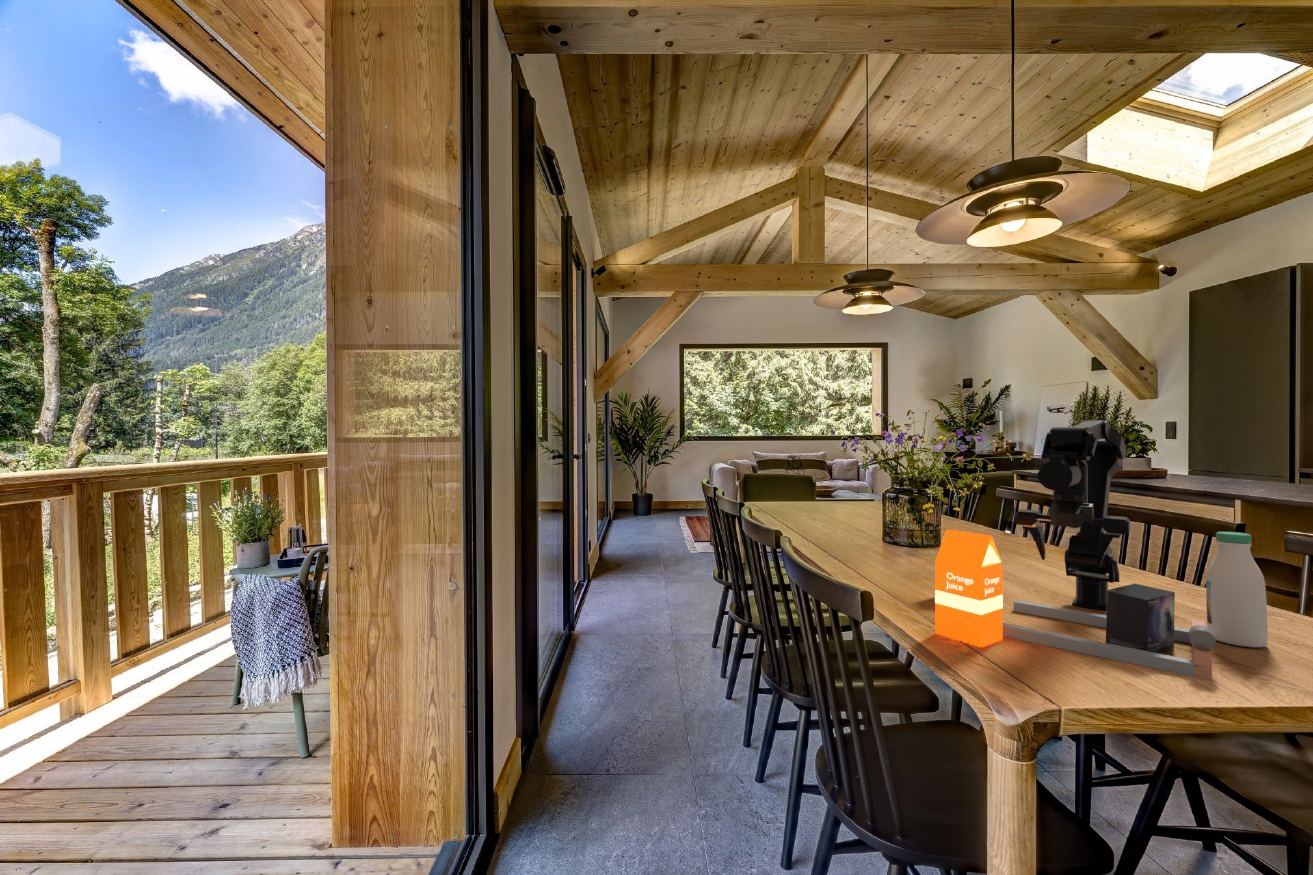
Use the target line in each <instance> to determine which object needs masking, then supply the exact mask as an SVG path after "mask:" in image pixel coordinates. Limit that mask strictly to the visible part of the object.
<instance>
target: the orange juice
mask: <svg viewBox="0 0 1313 875" xmlns="http://www.w3.org/2000/svg"><path fill="white" fill-rule="evenodd" d="M943 536H944V538H943V537H942V539H943V541H942V540H941V541H942V543H941V544H940V547H939V550H938V552H937V555H936V557H935V558H934V574H935V575H934V576H935V577H934V578H935V579H934V581H935V582H934V584H935V585H934V587H935V590H934V603H935V604H934V605H935V606H934V608H935V609H934V610H935V614H934V615H935V619H934V620H935V623H934V624H935V626H934V627H935V635H938V634H939V635H938V636H942V637H944V636H945V638H948V639H952V640H955V641H958V642H960V641H962V642H961V643H965V644H967V643H969V644H968V645H970V646H973V645H975V646H974V647H976V646H978V647H977V648H980V647H983V648H985V647H987V645H988V646H991V645H992V644H996V643H998V642H1001V641H1003V638H1004V636H1003V623H1004V622H1003V608H1004V602H1003V601H1004V600H1003V599H1004V598H1003V595H1004V594H1003V561H1002V559H1001V556H1000V554H999V552H998V549H997V546H996V544H995V543H996V542H995V541H994V538H993V535H989V534H982V533H976V532H968V531H961V530H954V529H948V528H947V529H946V530H945V533H944V535H943Z"/></svg>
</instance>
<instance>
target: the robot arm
mask: <svg viewBox="0 0 1313 875" xmlns="http://www.w3.org/2000/svg"><path fill="white" fill-rule="evenodd" d="M1126 456H1127V447H1126V444H1125V440H1124V438H1123V435H1122V434H1121V433H1119V432H1117V431H1116V430H1115V429H1113V428H1112V427H1110V424H1109V421H1108V420H1104V419H1102V420H1100V419H1098V420H1096V419H1095V420H1083V421H1080V422H1078V424H1076V425H1074V426H1052V427H1051V428H1050V430H1049V432H1047V433H1046V436H1045V441H1044V444H1043V448H1042V452H1041V456H1040V457H1041V460H1048V462H1046V463H1044V464H1043V465H1042V466H1040V467H1039V469H1038V472H1037V479H1038V481H1039V483H1040V485H1041V486H1042V487H1044V488H1046V489H1048V490H1051V491H1052V494H1053V496H1052V497H1053V498H1052V501H1051V504H1050V509H1049V514H1042V511H1041V510H1036V509H1020V510H1018V511H1017V512H1015V514H1014V524H1015V525H1021V528H1022V530H1027V531H1028V532H1029V534H1030V535H1031V537H1032V539H1033V540H1034V542H1035V546H1036V548H1037V550H1038V552H1039V556H1040V558H1041V560H1042V561H1043V560H1044V561H1045V560H1046V545H1045V544H1046V541H1045V534H1044V525H1043V524H1050V525H1051V526H1052V527H1057V528H1058V527H1068V528H1071V529H1079V531H1078V532H1077V533H1076V534H1072V535H1071V536H1070V537H1069V540H1068V541H1069V542H1068V548H1066V549H1065V550H1064V551H1065V552H1064V565H1065V566H1064V567H1065V573H1066V577H1075V598H1074V599H1073V600H1072V602H1071V605H1073V606H1079V607H1084V608H1089V609H1095V610H1101V611H1106V609H1107V608H1106V607H1107V606H1106V605H1107V590H1109V583H1110V584H1113V583H1120V582H1121V581H1120V569H1119V565H1118V562H1117V561H1116V558H1115V556H1114V554H1113V549H1112V548H1111V545H1110V544H1111V543H1112V541H1113V539H1120V538H1121V537H1122V536H1123V535H1130V533H1131V520H1130V519H1129V518H1128V517H1127V516H1117V515H1115V516H1114V515H1108V508H1109V498H1110V489H1111V480H1112V477H1113V476H1115V474H1117V472H1119V471H1120V470H1121V468H1122V464H1123V460H1125V459H1126Z"/></svg>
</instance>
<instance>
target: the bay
mask: <svg viewBox="0 0 1313 875" xmlns="http://www.w3.org/2000/svg"><path fill="white" fill-rule="evenodd" d="M1013 612H1016V613H1022V614H1028V615H1033V616H1037V617H1038V616H1039V617H1042V618H1043V617H1045V618H1049V619H1056V620H1061V621H1066V622H1072V623H1078V624H1081V625H1082V624H1083V625H1086V626H1087V625H1088V626H1094V627H1100V628H1104V629H1106V619H1107V618H1106V614H1100V613H1095V612H1089V611H1082V610H1077V609H1072V608H1066V607H1059V606H1053V605H1046V604H1043V603H1035V602H1031V601H1029V602H1028V601H1024V600H1018V599H1015V600H1014V601H1013ZM1004 637H1005V638H1010V639H1014V640H1019V641H1023V642H1028V643H1033V644H1038V645H1043V646H1047V647H1052V648H1055V649H1056V648H1057V649H1060V650H1067V651H1071V652H1076V653H1081V654H1085V655H1089V656H1095V657H1097V658H1099V657H1100V658H1103V659H1109V660H1113V661H1118V662H1123V663H1128V664H1132V665H1137V666H1141V667H1146V668H1151V669H1154V670H1155V669H1156V670H1161V671H1165V672H1171V673H1173V674H1174V673H1175V674H1178V675H1179V674H1180V675H1184V676H1189V677H1192V678H1193V677H1194V678H1198V679H1202V678H1203V680H1208V681H1212V680H1213V679H1212V677H1213V675H1212V674H1213V672H1212V670H1213V667H1212V664H1213V663H1212V662H1213V658H1212V656H1213V655H1212V650H1213V649H1215V647H1216V645H1217V643H1216V640H1215V636H1214V633H1213V632H1212V630H1211V629H1209V628H1208V627H1207V620H1206V621H1204V620H1198V619H1191V627H1190V628H1189V629H1188V628H1182V627H1176V626H1174V642H1176V641H1177V642H1182V643H1186V644H1190V645H1191V649H1192V650H1191V651H1192V654H1191V655H1192V659H1188V658H1184V657H1180V656H1179V657H1178V656H1172V655H1169V654H1163V653H1154V652H1149V651H1143V650H1138V649H1133V648H1128V647H1123V646H1118V645H1113V644H1108V643H1106V642H1102V641H1097V640H1092V639H1087V638H1082V637H1077V636H1072V635H1065V634H1061V633H1057V632H1052V631H1046V630H1042V629H1036V628H1031V627H1028V626H1027V627H1026V626H1021V625H1015V624H1010V623H1007V622H1003V638H1004Z"/></svg>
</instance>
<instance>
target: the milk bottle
mask: <svg viewBox="0 0 1313 875" xmlns="http://www.w3.org/2000/svg"><path fill="white" fill-rule="evenodd" d="M1215 540H1216V542H1215V543H1216V545H1217V550H1216V554H1215V555H1214V557H1213V558H1212V560H1211V563H1210V564H1209V565H1208V568H1207V571H1206V577H1205V579H1206V582H1205V583H1206V585H1205V586H1206V587H1205V588H1206V590H1205V591H1206V594H1205V595H1206V599H1205V600H1206V601H1205V602H1206V622H1207V627H1208V628H1209V629H1211V630H1212V632H1213V633H1214V636H1215V641H1218V642H1221V643H1225V644H1227V645H1235V646H1240V647H1244V648H1245V647H1248V648H1266V647H1267V646H1268V644H1269V638H1268V637H1269V634H1268V632H1269V630H1268V610H1267V609H1268V608H1267V607H1268V606H1267V605H1268V604H1267V590H1266V589H1267V588H1266V581H1265V578H1264V574H1263V572H1262V571H1261V568H1259V565H1258V564H1257V563H1256V561H1255V559H1254V557H1253V555H1252V552H1251V547H1252V546H1253V545H1252V540H1253V539H1252V535H1251V534H1249V533H1244V532H1236V531H1217V532H1215Z"/></svg>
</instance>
